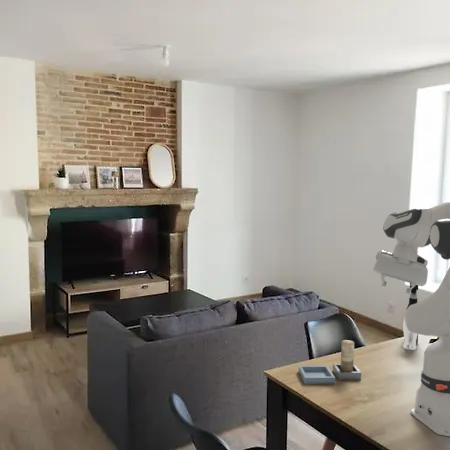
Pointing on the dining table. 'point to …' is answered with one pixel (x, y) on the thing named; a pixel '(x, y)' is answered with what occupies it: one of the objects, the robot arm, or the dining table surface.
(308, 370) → the tray
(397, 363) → the dining table surface
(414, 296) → the black chrome pepper mill
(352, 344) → the peg
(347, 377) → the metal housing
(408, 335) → the beer glass
